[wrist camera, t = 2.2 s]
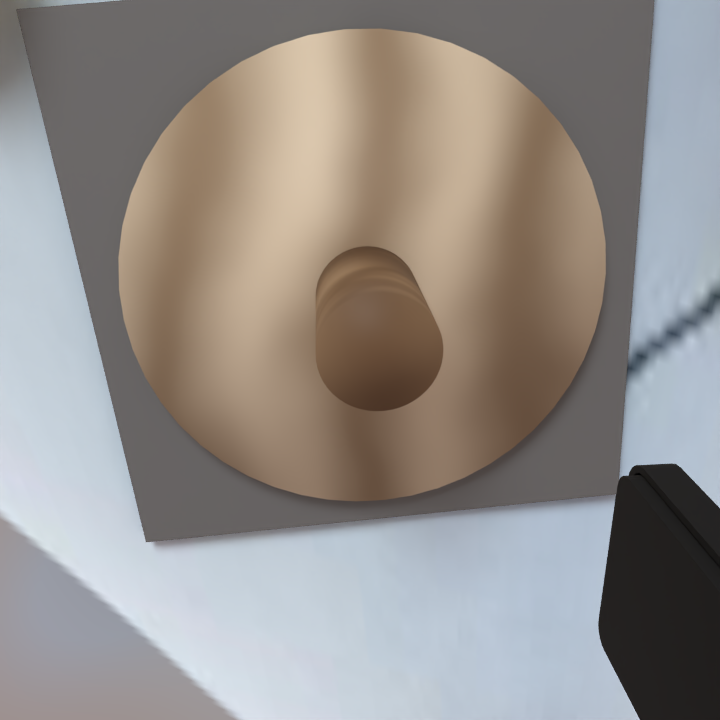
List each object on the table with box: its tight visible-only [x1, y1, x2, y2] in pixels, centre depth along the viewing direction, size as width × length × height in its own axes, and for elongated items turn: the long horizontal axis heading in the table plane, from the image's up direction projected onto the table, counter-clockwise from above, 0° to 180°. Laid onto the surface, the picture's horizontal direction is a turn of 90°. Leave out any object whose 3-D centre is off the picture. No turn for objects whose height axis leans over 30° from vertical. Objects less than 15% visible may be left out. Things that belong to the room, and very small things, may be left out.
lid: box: [118, 29, 606, 501], centre depth 25 cm, size 19×19×7 cm
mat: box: [16, 0, 654, 542], centre depth 28 cm, size 22×22×1 cm
